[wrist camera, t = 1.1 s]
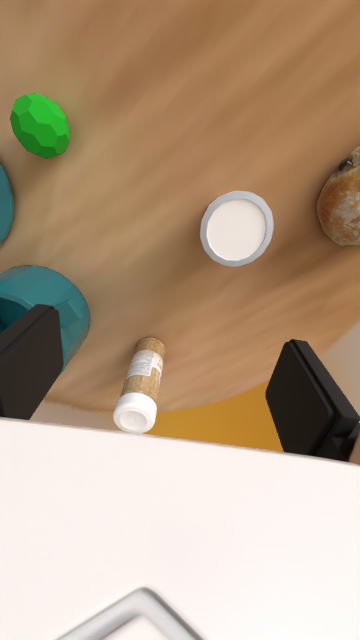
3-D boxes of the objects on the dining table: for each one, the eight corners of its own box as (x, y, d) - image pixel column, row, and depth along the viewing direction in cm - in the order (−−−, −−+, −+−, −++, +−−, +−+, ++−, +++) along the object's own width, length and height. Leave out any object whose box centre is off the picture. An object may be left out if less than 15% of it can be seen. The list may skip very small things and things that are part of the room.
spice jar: (166, 361, 41) (155, 436, 29) (137, 360, 41) (114, 435, 29) (165, 336, 38) (153, 405, 27) (134, 335, 39) (109, 404, 27)
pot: (-42, 298, 37) (-101, 328, 29) (65, 237, 32) (28, 255, 25) (24, 368, 42) (-12, 408, 35) (124, 325, 38) (107, 361, 30)
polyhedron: (40, 88, 26) (10, 70, 21) (85, 124, 27) (65, 114, 23) (22, 138, 28) (-9, 131, 23) (65, 170, 29) (43, 168, 25)
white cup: (266, 232, 31) (285, 245, 25) (214, 260, 33) (219, 279, 27) (242, 174, 28) (256, 173, 22) (187, 209, 30) (186, 216, 24)
